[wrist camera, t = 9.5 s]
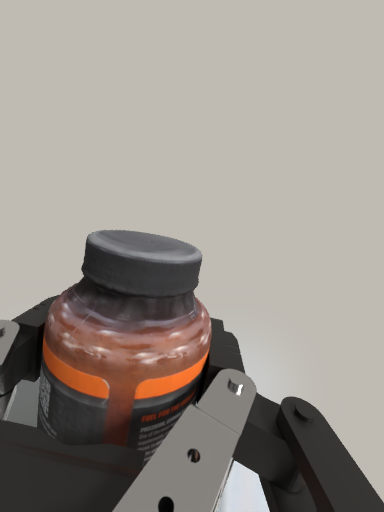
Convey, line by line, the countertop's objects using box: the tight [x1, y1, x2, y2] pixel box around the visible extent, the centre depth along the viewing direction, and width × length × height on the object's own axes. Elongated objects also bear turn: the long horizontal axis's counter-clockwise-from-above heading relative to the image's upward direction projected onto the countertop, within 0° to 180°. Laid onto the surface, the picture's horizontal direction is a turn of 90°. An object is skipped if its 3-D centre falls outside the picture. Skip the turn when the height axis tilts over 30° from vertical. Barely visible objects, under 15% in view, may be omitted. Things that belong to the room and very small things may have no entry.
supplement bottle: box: [37, 230, 212, 467], centre depth 9 cm, size 6×6×11 cm
